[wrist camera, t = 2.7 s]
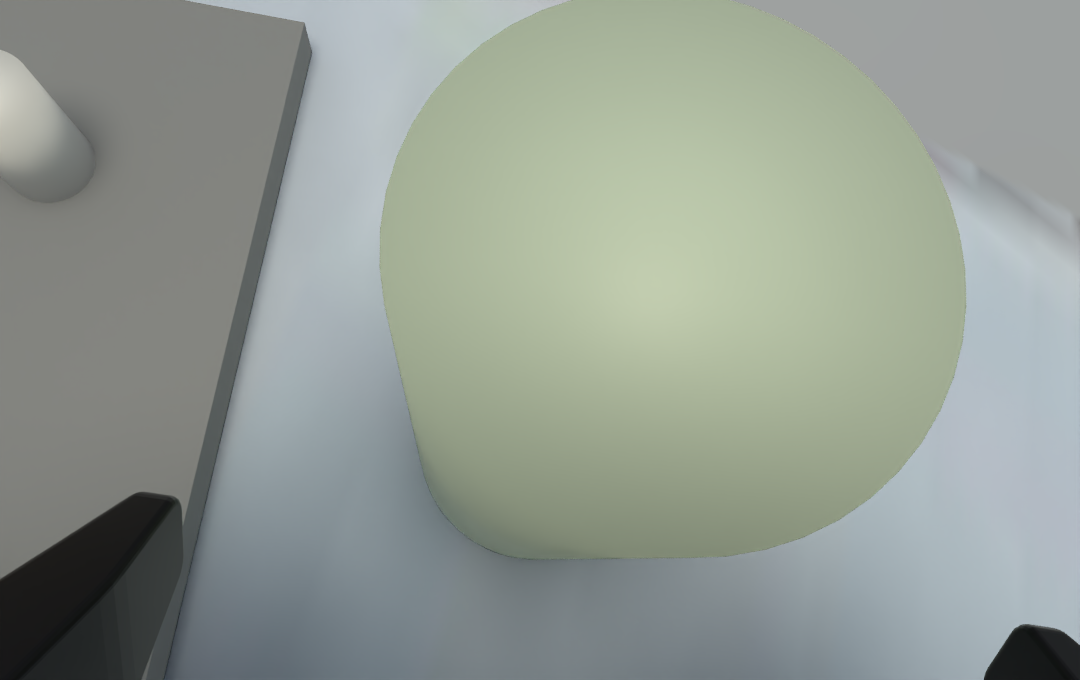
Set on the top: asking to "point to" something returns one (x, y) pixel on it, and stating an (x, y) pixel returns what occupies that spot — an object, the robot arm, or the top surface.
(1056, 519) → the top surface
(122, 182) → the peg board
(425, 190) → the post
